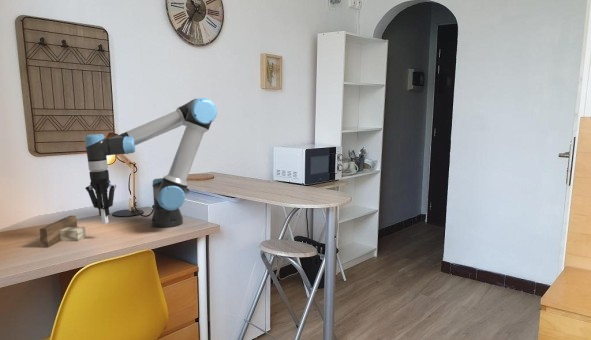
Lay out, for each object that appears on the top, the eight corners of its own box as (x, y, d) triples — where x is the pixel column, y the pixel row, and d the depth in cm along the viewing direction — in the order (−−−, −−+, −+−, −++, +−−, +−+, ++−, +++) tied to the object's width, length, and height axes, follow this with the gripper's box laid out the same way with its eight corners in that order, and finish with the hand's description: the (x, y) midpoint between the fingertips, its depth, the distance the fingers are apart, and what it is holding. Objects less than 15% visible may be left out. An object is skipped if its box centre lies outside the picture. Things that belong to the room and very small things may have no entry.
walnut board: (77, 232, 201) (76, 215, 200) (48, 247, 180) (46, 228, 179) (71, 232, 202) (69, 215, 201) (41, 247, 180) (39, 228, 179)
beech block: (86, 237, 193) (85, 226, 193) (78, 241, 188) (77, 230, 187) (68, 237, 194) (67, 226, 193) (60, 241, 188) (59, 230, 187)
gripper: (117, 168, 190) (123, 219, 194) (88, 169, 191) (95, 221, 194) (109, 170, 182) (115, 224, 186) (79, 172, 183) (86, 225, 187)
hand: (105, 222), depth 190 cm, fingers closed
